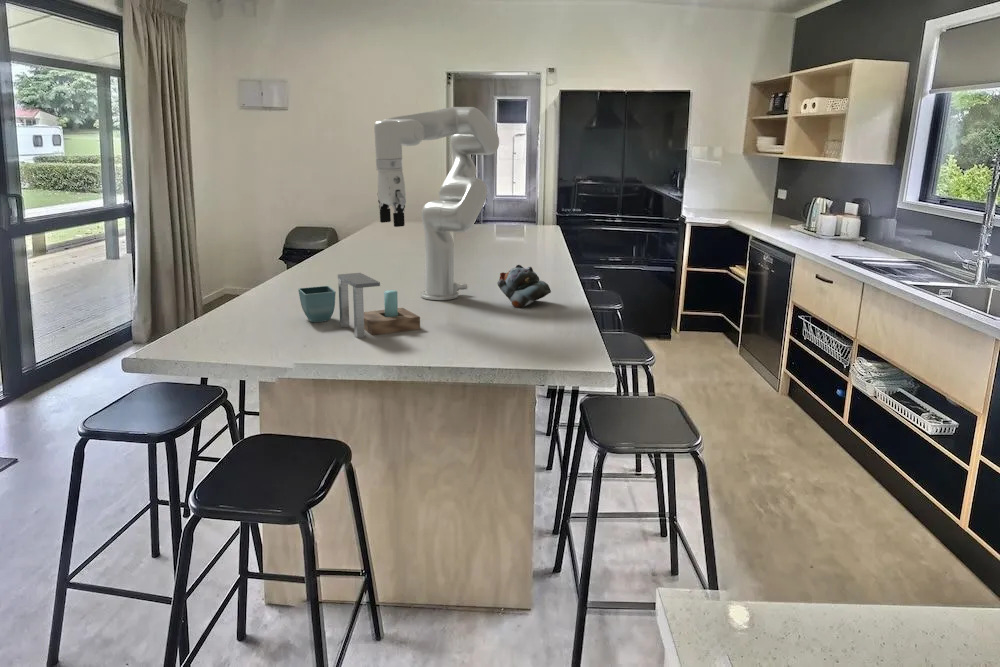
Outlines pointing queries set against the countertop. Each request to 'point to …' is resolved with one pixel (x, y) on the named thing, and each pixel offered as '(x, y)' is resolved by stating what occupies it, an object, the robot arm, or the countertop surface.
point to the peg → (391, 303)
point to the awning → (358, 284)
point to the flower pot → (317, 302)
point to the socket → (390, 322)
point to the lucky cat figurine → (522, 286)
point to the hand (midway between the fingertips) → (392, 224)
